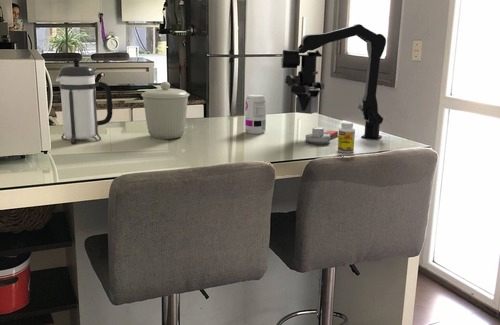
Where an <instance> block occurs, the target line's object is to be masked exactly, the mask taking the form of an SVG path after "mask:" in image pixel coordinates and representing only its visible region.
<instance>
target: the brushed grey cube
mask: <svg viewBox="0 0 500 325" xmlns="http://www.w3.org/2000/svg"><path fill="white" fill-rule="evenodd" d="M318 110H319V95H318V96H310V97H309V100H308V103H307V106H306V108H305V111H302V109H301V105H300V102H299V98H298V96H297V95H296V97H295V113H297V114H298V113H299V114H308V115H312V114H315V113H317V112H318Z"/></svg>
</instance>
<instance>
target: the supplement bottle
mask: <svg viewBox="0 0 500 325" xmlns="http://www.w3.org/2000/svg"><path fill="white" fill-rule="evenodd" d="M340 126H341V127H339V128H338V136H337V151H338V152H339V153H344V154H350V153H353V152H354V151H355V150H354V149H355V137H356V130H355V128H354V123H353V122H351V121H342V122H341V124H340Z"/></svg>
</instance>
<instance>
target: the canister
mask: <svg viewBox="0 0 500 325" xmlns="http://www.w3.org/2000/svg"><path fill="white" fill-rule="evenodd" d="M170 87H171V83H170V82H168V81H162V82H161V83H160V88H153V89H147V90H145V91H144V92H142V93H141V94H140V96H141V97H142V99H143V106H144V112H145V115H144V116H145V120H146V121H145V122H146V126H147V130H148V134H149V135H150V137H151V138H154V139H158V140H174V139H178V138H181V137H182V136H183V134H184V132H185V128H186V121H187V114H188V113H187V111H188V110H187V109H188V100H189V97H190V95H191V94H190V93H189V92H187V91H186V90H183V89H179V88H170Z"/></svg>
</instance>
